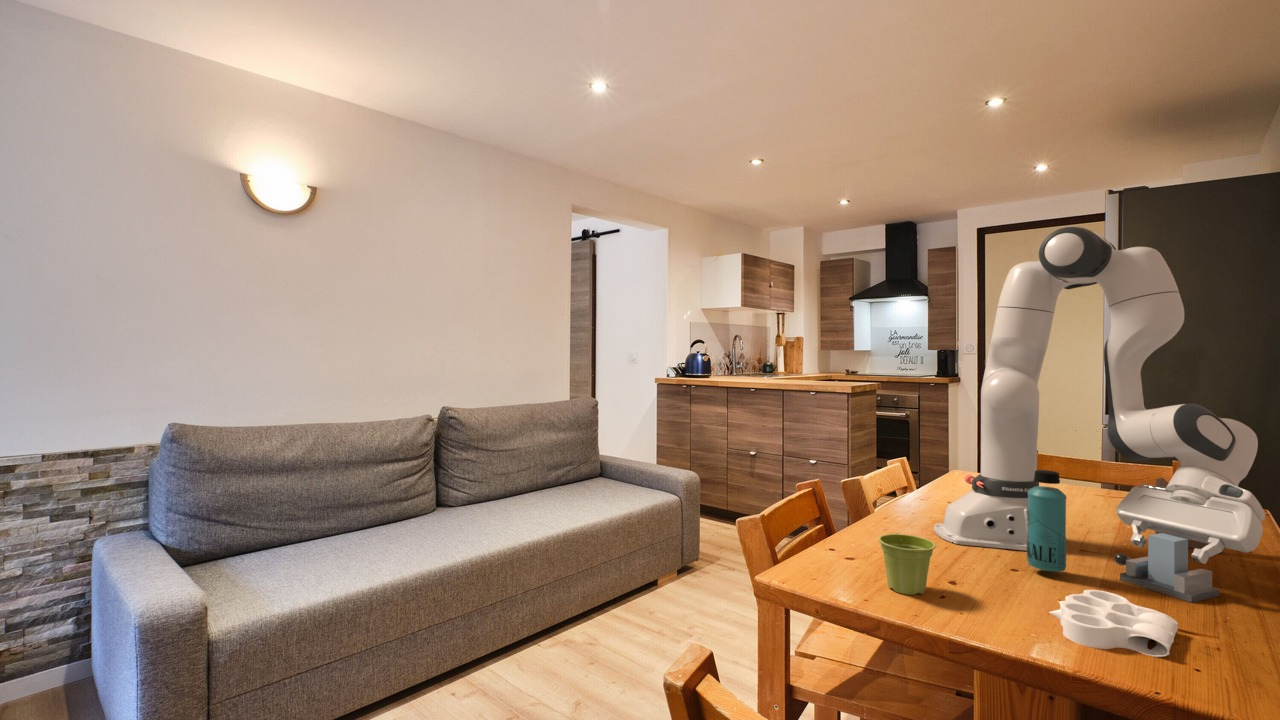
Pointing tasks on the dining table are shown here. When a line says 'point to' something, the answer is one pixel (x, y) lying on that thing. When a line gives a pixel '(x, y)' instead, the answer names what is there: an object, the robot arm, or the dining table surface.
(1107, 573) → the dining table surface
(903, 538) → the plant pot
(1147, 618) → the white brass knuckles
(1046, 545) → the beverage bottle
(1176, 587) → the vise
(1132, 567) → the free jaw
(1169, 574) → the steel block
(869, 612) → the dining table surface
